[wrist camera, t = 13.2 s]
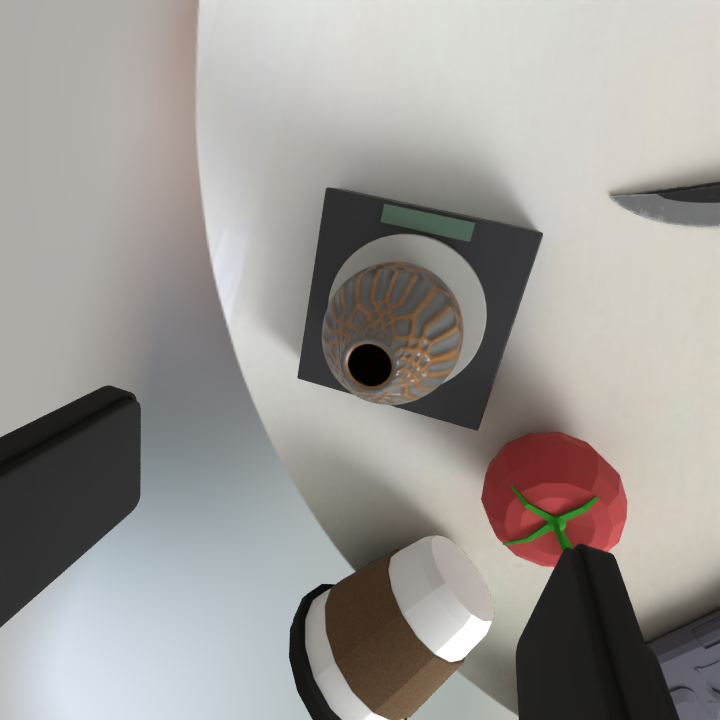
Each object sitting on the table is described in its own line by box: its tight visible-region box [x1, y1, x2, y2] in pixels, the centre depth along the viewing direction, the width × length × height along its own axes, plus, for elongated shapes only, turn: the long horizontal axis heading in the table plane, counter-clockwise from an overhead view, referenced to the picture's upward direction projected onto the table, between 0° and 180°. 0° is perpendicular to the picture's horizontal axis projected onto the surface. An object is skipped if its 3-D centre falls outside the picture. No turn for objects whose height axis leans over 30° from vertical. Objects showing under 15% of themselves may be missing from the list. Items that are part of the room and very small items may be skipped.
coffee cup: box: [289, 535, 495, 720], centre depth 31 cm, size 11×11×12 cm
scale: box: [298, 187, 543, 431], centre depth 27 cm, size 12×12×3 cm
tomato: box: [481, 432, 627, 567], centre depth 26 cm, size 8×8×8 cm
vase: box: [322, 261, 464, 405], centre depth 22 cm, size 7×7×9 cm
